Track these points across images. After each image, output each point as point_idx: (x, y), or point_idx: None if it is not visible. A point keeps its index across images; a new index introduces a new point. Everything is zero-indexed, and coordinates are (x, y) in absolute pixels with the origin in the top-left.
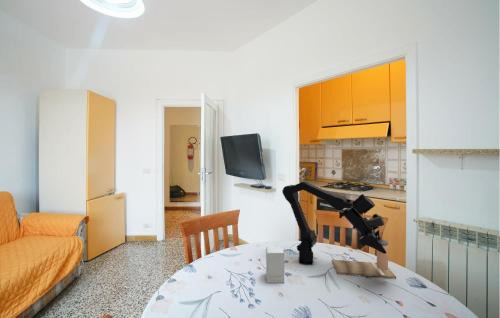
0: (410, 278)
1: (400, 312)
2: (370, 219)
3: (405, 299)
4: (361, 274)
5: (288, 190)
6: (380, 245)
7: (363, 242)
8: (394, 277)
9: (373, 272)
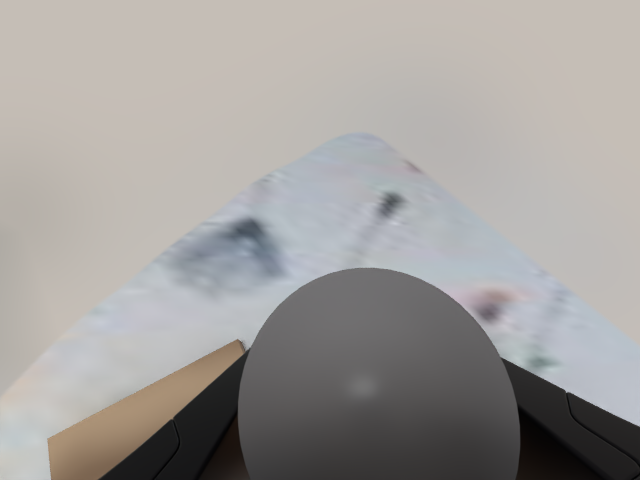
0: (194, 278)
1: (566, 294)
2: None
3: (435, 284)
4: None
5: None
6: (573, 406)
7: None
8: (243, 348)
9: None
